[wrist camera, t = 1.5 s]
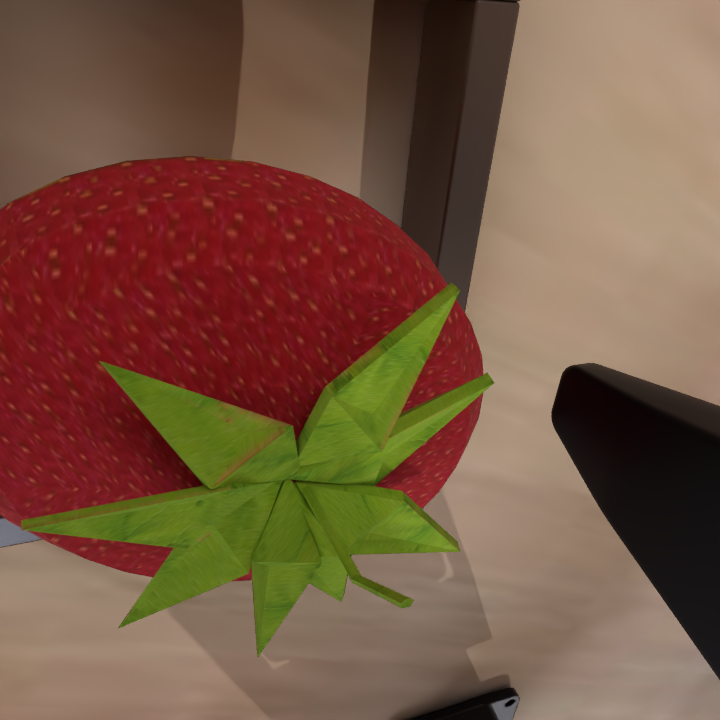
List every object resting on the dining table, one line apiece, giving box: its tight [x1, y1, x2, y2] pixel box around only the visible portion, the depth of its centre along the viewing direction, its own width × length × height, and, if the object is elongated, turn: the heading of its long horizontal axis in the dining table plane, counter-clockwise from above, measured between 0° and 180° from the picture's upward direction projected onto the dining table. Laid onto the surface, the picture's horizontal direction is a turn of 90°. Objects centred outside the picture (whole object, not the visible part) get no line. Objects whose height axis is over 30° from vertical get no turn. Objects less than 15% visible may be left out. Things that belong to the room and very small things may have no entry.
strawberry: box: [0, 156, 494, 657], centre depth 9 cm, size 6×8×10 cm
